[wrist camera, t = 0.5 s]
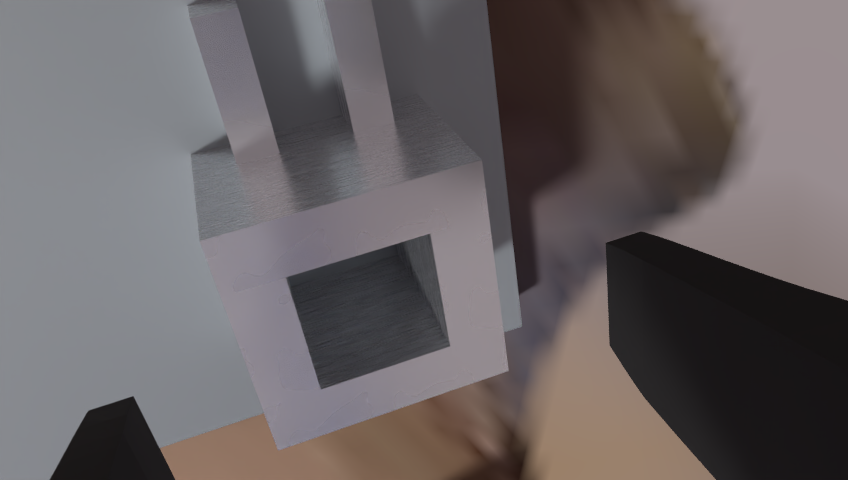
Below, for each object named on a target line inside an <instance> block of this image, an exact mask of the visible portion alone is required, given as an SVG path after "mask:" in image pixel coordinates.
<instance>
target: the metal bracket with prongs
mask: <svg viewBox="0 0 848 480" xmlns="http://www.w3.org/2000/svg"><path fill="white" fill-rule="evenodd" d="M316 3H317V8H318V12H319V16H320V21H321V25H322V29H323V34H324V38H325V42H326V47H327V51H328V56H329V60H330V64H331V69H332V73H333V77H334V82H335V86H336V90H337V95H338V99H339V103H340V108H341V112H342V114H341V115H337V116H333V117H329V118H326V119H322V120H318V121H314V122H311V123H307V124H303V125H299V126H296V127H292V128H288V129H284V130H281V131H277V132H274V131H273V128H272V124H271V121H270V117H269V114H268V110H267V107H266V103H265V100H264V96H263V93H262V89H261V86H260V82H259V79H258V75H257V72H256V68H255V65H254V61H253V58H252V54H251V51H250V47H249V44H248V40H247V37H246V33H245V30H244V26H243V23H242V19H241V16H240V12H239V9H238V6H237V4H236V2H235V0H209V1H204V2H200V3H195V4H191V5H187V6H188V12H189V18H190V21H191V24H192V28H193V31H194V34H195V37H196V40H197V43H198V46H199V49H200V52H201V55H202V59H203V62H204V65H205V68H206V71H207V74H208V77H209V80H210V83H211V86H212V89H213V93H214V96H215V99H216V102H217V105H218V108H219V111H220V114H221V117H222V120H223V124H224V127H225V130H226V133H227V136H228V139H229V142H230V144H228V145H224V146H221V147H217V148H213V149H209V150H206V151H202V152H198V153H194V154H191V164H192V173H193V183H194V193H195V202H196V212H197V221H198V231H199V241H200V244H201V246H202V249H203V252H204V254H205V257H206V260H207V262H208V265H209V268H210V270H211V273H212V276H213V278H214V281H215V284H216V286H217V289H218V292H219V294H220V297H221V300H222V302H223V305H224V308H225V310H226V313H227V316H228V318H229V321H230V324H231V326H232V329H233V332H234V334H235V337H236V340H237V342H238V345H239V348H240V350H241V353H242V356H243V358H244V361H245V364H246V366H247V369H248V372H249V374H250V377H251V379H252V382H253V385H254V387H255V390H256V393H257V395H258V398H259V401H260V403H261V406H262V409H263V411H264V414H265V417H266V419H267V422H268V425H269V427H270V430H271V433H272V435H273V438H274V441H275V443H276V446H277V449H278V450H281V449H284V448H287V447H290V446H293V445H295V444H298V443H301V442H304V441H307V440H310V439H313V438H316V437H319V436H321V435H324V434H327V433H330V432H333V431H336V430H339V429H342V428H345V427H347V426H350V425H353V424H356V423H359V422H362V421H365V420H368V419H371V418H373V417H376V416H379V415H382V414H385V413H388V412H391V411H394V410H397V409H399V408H402V407H405V406H408V405H411V404H414V403H417V402H420V401H423V400H425V399H428V398H431V397H434V396H437V395H440V394H443V393H446V392H449V391H451V390H454V389H457V388H460V387H463V386H466V385H469V384H472V383H475V382H477V381H480V380H483V379H486V378H489V377H492V376H495V375H498V374H501V373H503V372H506V371H509V370H508V362H507V355H506V347H505V339H504V331H503V323H502V315H501V307H500V299H499V291H498V283H497V276H496V268H495V260H494V252H493V244H492V236H491V228H490V220H489V212H488V204H487V197H486V189H485V181H484V173H483V165H482V159H481V158H480V157H479V156H478V155H477V154H476V153H475V152H474V151H473V150H472V149H471V148H470V147H469V146H468V145H467V144H466V143H465V142H464V141H463V140H462V139H461V138H460V137H459V136H458V135H457V134H456V133H455V132H454V131H453V130H452V129H451V128H450V127H449V126H448V125H447V124H446V123H445V122H444V121H443V119H442V118H441V117H440V116H439V115H438V114H437V113H436V112H435V111H434V110H433V109H432V108H431V107H430V106H429V105H428V104H427V103H426V102H425V101H424V100H423V99H422V98H421V97H420V96H419V95H418V94H416V95H412V96H408V97H405V98H401V99H397V100H393V101H390V96H389V91H388V85H387V80H386V75H385V70H384V64H383V59H382V54H381V49H380V43H379V38H378V33H377V28H376V22H375V17H374V12H373V7H372V1H371V0H316ZM394 244H396V246H397V251H398V254H397V255H393V256H390V257H387V258H383V259H380V260H377V261H374V262H370V263H367V264H364V265H361V266H357V267H354V268H351V269H348V270H344V271H341V272H338V273H335V274H331V275H328V276H325V277H321V278H318V279H315V280H312V281H308V282H305V283H302V284H299V285H295V286H292V287H291V286H290V283H289V279H288V277H289V276H292V275H295V274H299V273H302V272H305V271H308V270H312V269H315V268H318V267H322V266H325V265H328V264H332V263H335V262H338V261H341V260H345V259H348V258H351V257H355V256H358V255H361V254H364V253H368V252H371V251H374V250H378V249H381V248H384V247H388V246H391V245H394Z"/></svg>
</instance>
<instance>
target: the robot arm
mask: <svg viewBox="0 0 848 480" xmlns="http://www.w3.org/2000/svg"><path fill="white" fill-rule="evenodd" d="M606 259H607V285H608V309H609V310H608V312H609V337H610V346H611V348H612V350H613V351H614V353H615V354H616V356H617V357H618V359H619V360H620V362H621V363H622V365H623V367H624V368H625V370H626V371H627V372H628V374H629V376H630V377H631V379H632V380H633V382H634V383H635V385H636V386H637V388H638V389H639V390H640V392H641V393H642V395H643V396H644V397H645V399H646V400H647V401H648V402H649V403H650V405H651V406H652V407H653V408H654V409H655V410H656V412H657V413H658V414H659V415H660V416H661V417H662V419H664V421H665V422H666V423H667V424H668V425H669V427H670V428H671V429H672V430H673V431H674V432H675V434H677V436H678V437H679V438H680V439H681V440H682V442H683V443H684V444H685V445H686V446H687V447H688V448H689V449H690V450H691V452H692V453H693V454H694V455H695V456H696V457H697V458H698V460H699V461H701V463H702V464H703V465H704V466H705V468H706V469H707V470H708V471H709V472H710V473H711V474H712V475H713V477H714V478H715V479H716V480H848V301H847V300H844V299H840V298H837V297H833V296H830V295H827V294H824V293H820V292H817V291H813V290H810V289H807V288H804V287H801V286H798V285H794V284H791V283H788V282H785V281H782V280H779V279H776V278H773V277H770V276H767V275H765V274H762V273H759V272H756V271H753V270H750V269H748V268H745V267H742V266H739V265H736V264H733V263H731V262H728V261H725V260H723V259H720V258H717V257H714V256H712V255H709V254H706V253H703V252H700V251H698V250H695V249H692V248H689V247H687V246H684V245H681V244H678V243H676V242H673V241H670V240H667V239H664V238H661V237H658V236H655V235H651V234H648V233H645V232H638V233H635V234H632V235H629V236H626V237H623V238H620V239H617V240H614V241H610V242H607V243H606ZM50 480H175V478H174V476H173V474H172V472H171V470H170V468H169V466H168V464H167V462H166V460H165V458H164V456H163V454H162V452H161V450H160V448H159V446H158V444H157V442H156V440H155V438H154V436H153V434H152V432H151V430H150V428H149V426H148V424H147V422H146V420H145V418H144V416H143V414H142V412H141V410H140V408H139V406H138V404H137V402H136V400H135V398H134V396H132V397H129V398H126V399H123V400H119V401H116V402H113V403H110V404H107V405H104V406H101V407H98V408H95V409H92V410H89V411H88V412H87V413H86V415H85V417H84V419H83V420H82V422H81V424H80V425H79V427H78V429H77V431H76V432H75V434H74V436H73V438H72V440H71V441H70V443H69V445H68V447H67V449H66V451H65V452H64V454H63V456H62V458H61V460H60V462H59V463H58V465H57V467H56V469H55V471H54V473H53V474H52V476H51V478H50Z"/></svg>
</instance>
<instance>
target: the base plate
mask: <svg viewBox="0 0 848 480" xmlns="http://www.w3.org/2000/svg"><path fill="white" fill-rule="evenodd" d="M204 1H209V0H0V480H50V478H51V476H52V474H53V473H54V471H55V469H56V467H57V465H58V463H59V462H60V460H61V458H62V456H63V454H64V452H65V451H66V449H67V447H68V445H69V443H70V441H71V440H72V438H73V436H74V434H75V432H76V431H77V429H78V427H79V425H80V424H81V422H82V420H83V419H84V417H85V415H86V413H87V412H88V411H89V410H92V409H95V408H98V407H101V406H104V405H107V404H110V403H113V402H116V401H119V400H123V399H126V398H129V397H132V396H134V398H135V400H136V402H137V404H138V406H139V408H140V410H141V412H142V414H143V416H144V418H145V420H146V422H147V424H148V426H149V428H150V430H151V432H152V434H153V436H154V438H155V440H156V442H157V444H158V446H159V448H161V447H164V446H167V445H170V444H173V443H176V442H179V441H182V440H185V439H188V438H191V437H194V436H197V435H200V434H203V433H206V432H209V431H212V430H215V429H218V428H221V427H224V426H227V425H230V424H233V423H236V422H239V421H242V420H244V419H247V418H250V417H253V416H256V415H259V414H262V413H264V411H263V409H262V406H261V403H260V401H259V398H258V395H257V393H256V390H255V387H254V385H253V382H252V379H251V377H250V374H249V372H248V369H247V366H246V364H245V361H244V358H243V356H242V353H241V350H240V348H239V345H238V342H237V340H236V337H235V334H234V332H233V329H232V326H231V324H230V321H229V318H228V316H227V313H226V310H225V308H224V305H223V302H222V300H221V297H220V294H219V292H218V289H217V286H216V284H215V281H214V278H213V276H212V273H211V270H210V268H209V265H208V262H207V260H206V257H205V254H204V252H203V249H202V246H201V244H200V241H199V231H198V221H197V212H196V202H195V193H194V183H193V173H192V164H191V154H194V153H198V152H202V151H206V150H209V149H213V148H217V147H221V146H224V145H228V144H230V142H229V139H228V136H227V133H226V130H225V127H224V124H223V120H222V117H221V114H220V111H219V108H218V105H217V102H216V99H215V96H214V93H213V89H212V86H211V83H210V80H209V77H208V74H207V71H206V68H205V65H204V62H203V59H202V55H201V52H200V49H199V46H198V43H197V40H196V37H195V34H194V31H193V28H192V24H191V21H190V18H189V12H188V6H187V5H191V4H195V3H200V2H204ZM371 1H372V7H373V12H374V17H375V22H376V28H377V33H378V38H379V43H380V49H381V54H382V59H383V64H384V70H385V75H386V80H387V85H388V91H389V96H390V101H393V100H397V99H401V98H405V97H408V96H412V95H416V94H418V95H419V96H420V97H421V98H422V99H423V100H424V101H425V102H426V103H427V104H428V105H429V106H430V107H431V108H432V109H433V110H434V111H435V112H436V113H437V114H438V115H439V116H440V117H441V118H442V119H443V121H444V122H445V123H446V124H447V125H448V126H449V127H450V128H451V129H452V130H453V131H454V132H455V133H456V134H457V135H458V136H459V137H460V138H461V139H462V140H463V141H464V142H465V143H466V144H467V145H468V146H469V147H470V148H471V149H472V150H473V151H474V152H475V153H476V154H477V155H478V156H479V157H480V158H481V159H482V165H483V173H484V181H485V189H486V197H487V204H488V212H489V220H490V228H491V236H492V244H493V252H494V260H495V268H496V276H497V283H498V291H499V299H500V307H501V315H502V323H503V331H504V332H507V331H510V330H513V329H516V328H519V327H522V321H521V312H520V303H519V294H518V285H517V276H516V266H515V257H514V248H513V239H512V230H511V221H510V211H509V202H508V193H507V184H506V175H505V165H504V156H503V147H502V138H501V129H500V120H499V110H498V101H497V92H496V83H495V74H494V65H493V55H492V46H491V37H490V28H489V19H488V10H487V0H371ZM235 2H236V4H237V6H238V9H239V12H240V16H241V19H242V23H243V26H244V30H245V33H246V37H247V40H248V44H249V47H250V51H251V54H252V58H253V61H254V65H255V68H256V72H257V75H258V79H259V82H260V86H261V89H262V93H263V96H264V100H265V103H266V107H267V110H268V114H269V117H270V121H271V124H272V128H273V131H274V132H277V131H281V130H284V129H288V128H292V127H296V126H299V125H303V124H307V123H311V122H314V121H318V120H322V119H326V118H329V117H333V116H337V115H341V114H342V112H341V108H340V103H339V99H338V95H337V90H336V86H335V82H334V77H333V73H332V69H331V64H330V60H329V56H328V51H327V47H326V42H325V38H324V34H323V29H322V25H321V21H320V16H319V12H318V8H317V3H316V0H235ZM397 254H398V251H397V246H396V244H394V245H391V246H388V247H384V248H381V249H378V250H374V251H371V252H368V253H364V254H361V255H358V256H355V257H351V258H348V259H345V260H341V261H338V262H335V263H332V264H328V265H325V266H322V267H318V268H315V269H312V270H308V271H305V272H302V273H299V274H295V275H292V276H289V277H288V279H289V283H290V286H291V287H292V286H295V285H299V284H302V283H305V282H308V281H312V280H315V279H318V278H321V277H325V276H328V275H331V274H335V273H338V272H341V271H344V270H348V269H351V268H354V267H357V266H361V265H364V264H367V263H370V262H374V261H377V260H380V259H383V258H387V257H390V256H393V255H397Z"/></svg>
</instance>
